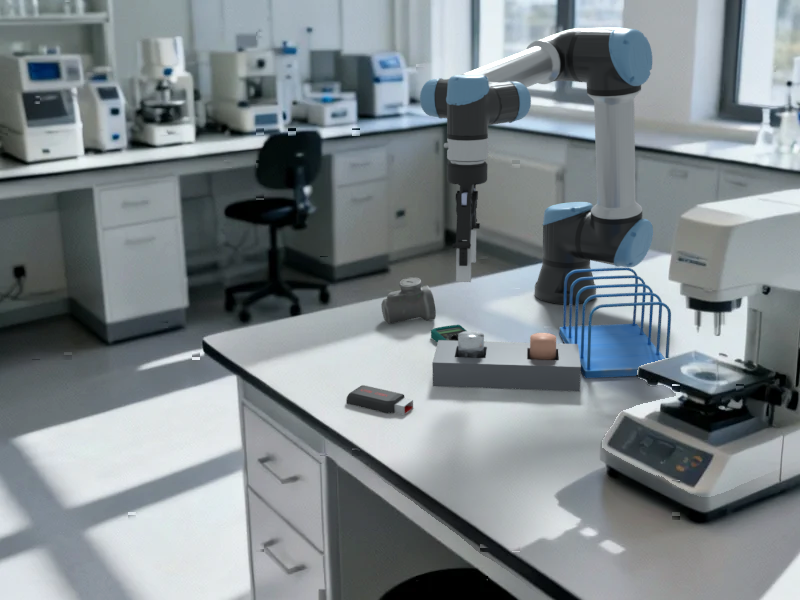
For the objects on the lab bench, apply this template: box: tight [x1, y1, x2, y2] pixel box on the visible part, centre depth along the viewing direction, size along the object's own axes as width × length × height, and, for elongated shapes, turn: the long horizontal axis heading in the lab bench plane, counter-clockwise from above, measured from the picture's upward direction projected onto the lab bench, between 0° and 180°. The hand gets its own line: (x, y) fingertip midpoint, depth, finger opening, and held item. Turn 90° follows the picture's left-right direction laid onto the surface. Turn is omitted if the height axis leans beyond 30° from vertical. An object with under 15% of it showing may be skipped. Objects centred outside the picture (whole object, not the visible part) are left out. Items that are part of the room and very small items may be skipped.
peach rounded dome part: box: [529, 332, 557, 360], centre depth 179 cm, size 5×5×4 cm
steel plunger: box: [458, 330, 485, 358], centre depth 181 cm, size 5×5×4 cm
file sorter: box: [558, 267, 672, 379], centre depth 191 cm, size 25×17×15 cm
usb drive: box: [345, 384, 414, 416], centre depth 171 cm, size 5×12×3 cm, turn 59°
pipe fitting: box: [381, 276, 437, 325], centre depth 213 cm, size 12×8×10 cm
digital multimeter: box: [430, 324, 468, 344], centre depth 198 cm, size 7×15×3 cm, turn 20°
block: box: [431, 340, 582, 392], centre depth 182 cm, size 28×12×5 cm, turn 82°
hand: (466, 271), depth 177 cm, fingers open, 13 cm apart
